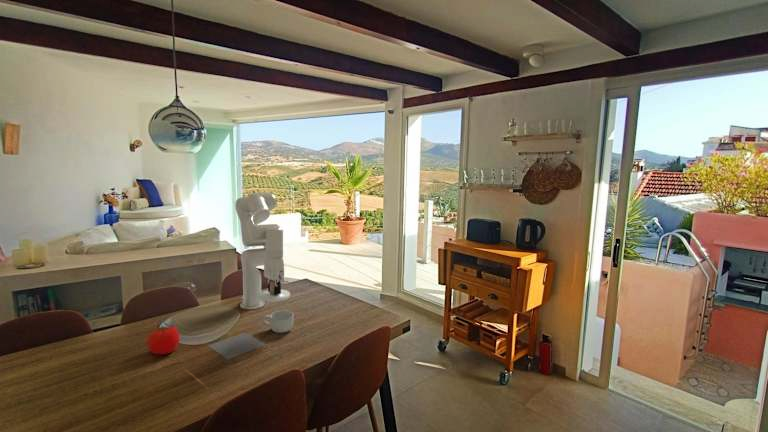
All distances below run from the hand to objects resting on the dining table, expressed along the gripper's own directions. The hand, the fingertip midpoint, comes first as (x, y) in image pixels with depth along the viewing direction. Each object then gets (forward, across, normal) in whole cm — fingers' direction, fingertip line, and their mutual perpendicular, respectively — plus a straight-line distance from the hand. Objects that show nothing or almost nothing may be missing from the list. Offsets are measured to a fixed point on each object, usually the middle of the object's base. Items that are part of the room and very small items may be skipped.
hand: (274, 292), depth 168 cm
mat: (+19, +1, -19) cm, 27 cm away
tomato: (+19, -16, -41) cm, 48 cm away
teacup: (+19, 0, +2) cm, 19 cm away
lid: (+2, 0, 0) cm, 2 cm away
